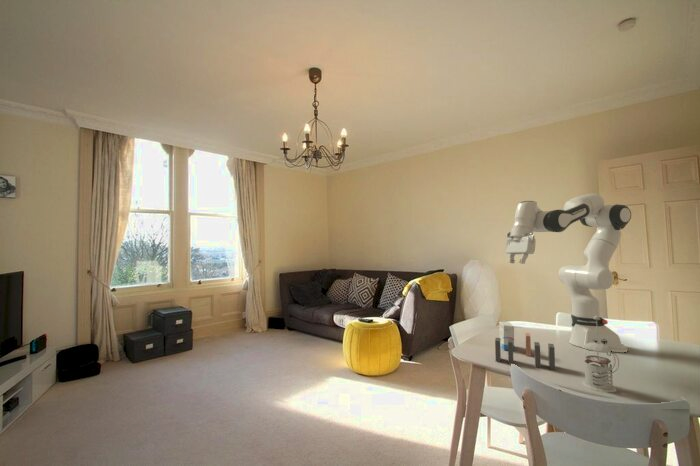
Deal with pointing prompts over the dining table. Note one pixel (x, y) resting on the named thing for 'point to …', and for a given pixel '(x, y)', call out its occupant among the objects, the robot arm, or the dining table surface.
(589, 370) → the french press
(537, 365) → the domino
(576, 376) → the dining table surface
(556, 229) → the robot arm
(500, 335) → the ink box
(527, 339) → the domino
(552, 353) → the domino
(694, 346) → the dining table surface
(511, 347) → the domino
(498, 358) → the domino
